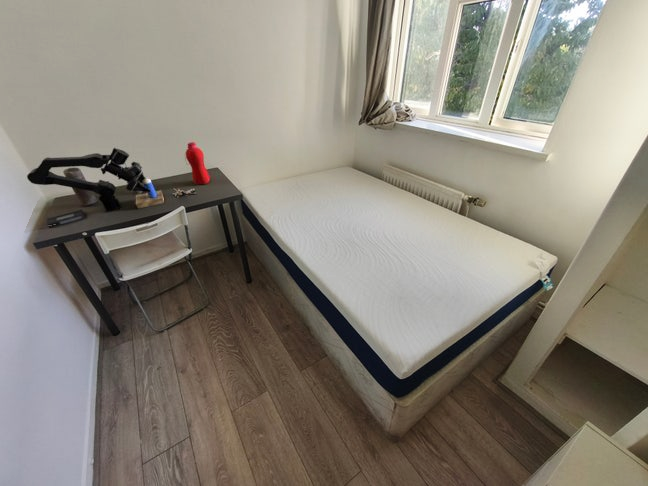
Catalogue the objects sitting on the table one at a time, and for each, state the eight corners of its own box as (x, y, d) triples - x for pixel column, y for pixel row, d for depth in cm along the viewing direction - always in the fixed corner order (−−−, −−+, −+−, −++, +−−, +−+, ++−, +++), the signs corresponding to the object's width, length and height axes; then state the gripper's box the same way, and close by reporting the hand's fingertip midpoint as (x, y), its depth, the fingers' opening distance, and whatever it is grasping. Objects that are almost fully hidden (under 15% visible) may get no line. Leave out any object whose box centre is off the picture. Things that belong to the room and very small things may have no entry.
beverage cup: (133, 196, 161) (117, 163, 150) (130, 192, 166) (114, 159, 154) (146, 192, 165) (132, 160, 153) (143, 188, 170) (129, 156, 158)
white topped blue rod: (151, 203, 154) (141, 180, 146) (151, 200, 157) (141, 178, 149) (159, 201, 155) (149, 179, 147) (158, 198, 158) (149, 176, 150)
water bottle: (194, 180, 180) (182, 141, 165) (211, 179, 181) (200, 140, 166) (190, 185, 172) (177, 145, 158) (208, 184, 173) (196, 144, 158)
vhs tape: (84, 218, 141) (82, 215, 140) (49, 228, 134) (47, 224, 133) (83, 212, 146) (81, 209, 145) (49, 222, 139) (47, 218, 137)
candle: (96, 199, 159) (78, 166, 147) (99, 203, 154) (80, 169, 143) (80, 203, 154) (60, 169, 142) (83, 208, 150) (62, 173, 138)
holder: (138, 208, 149) (135, 203, 147) (138, 199, 157) (136, 195, 156) (164, 202, 154) (162, 198, 152) (163, 194, 162) (161, 190, 161)
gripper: (123, 165, 133) (156, 183, 143) (130, 153, 147) (160, 170, 157) (112, 182, 135) (145, 199, 145) (120, 170, 150) (150, 185, 159)
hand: (151, 187), depth 151 cm, fingers open, 9 cm apart
